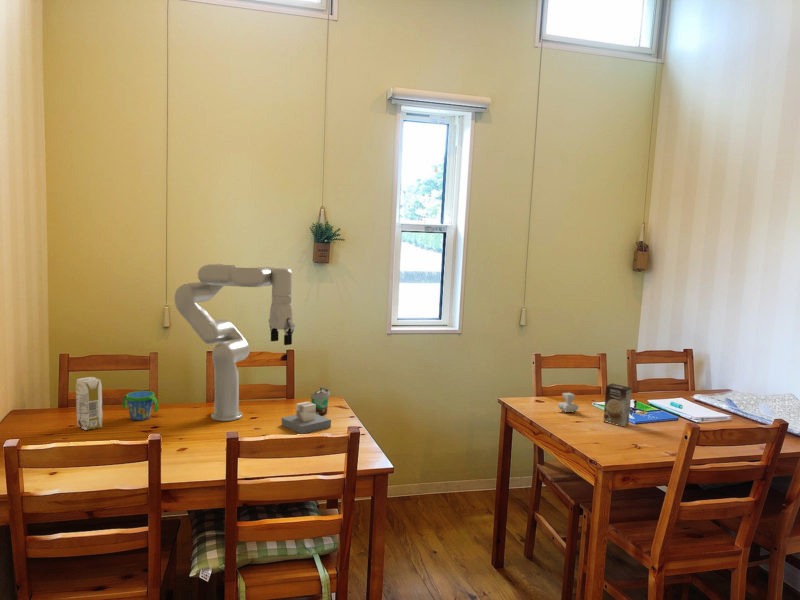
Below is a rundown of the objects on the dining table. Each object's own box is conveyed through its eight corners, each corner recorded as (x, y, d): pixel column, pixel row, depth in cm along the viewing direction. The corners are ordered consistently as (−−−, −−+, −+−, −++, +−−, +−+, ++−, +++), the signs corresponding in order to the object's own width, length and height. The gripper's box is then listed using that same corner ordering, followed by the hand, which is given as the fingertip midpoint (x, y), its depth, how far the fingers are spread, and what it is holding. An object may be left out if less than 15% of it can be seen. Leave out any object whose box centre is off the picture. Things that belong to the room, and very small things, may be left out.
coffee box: (602, 422, 255) (604, 385, 254) (608, 419, 260) (611, 383, 258) (623, 427, 249) (626, 389, 247) (629, 424, 254) (632, 387, 252)
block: (296, 418, 238) (296, 403, 237) (307, 415, 242) (308, 401, 241) (303, 421, 234) (304, 406, 233) (315, 419, 238) (315, 404, 237)
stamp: (563, 414, 265) (564, 396, 264) (555, 410, 271) (556, 392, 270) (580, 413, 267) (581, 395, 266) (572, 409, 274) (573, 391, 273)
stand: (281, 425, 238) (281, 417, 238) (310, 418, 248) (310, 411, 248) (301, 434, 228) (301, 426, 228) (330, 427, 238) (330, 419, 237)
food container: (324, 418, 249) (324, 395, 248) (310, 417, 250) (310, 393, 249) (333, 410, 261) (333, 387, 260) (320, 409, 262) (320, 386, 261)
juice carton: (83, 432, 223) (82, 382, 221) (75, 427, 229) (73, 378, 227) (104, 428, 228) (103, 379, 227) (95, 422, 234) (94, 375, 232)
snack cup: (165, 417, 244) (165, 393, 243) (145, 424, 234) (145, 399, 233) (135, 412, 249) (135, 388, 248) (115, 419, 239) (115, 394, 238)
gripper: (261, 298, 238) (261, 340, 239) (285, 302, 225) (284, 347, 227) (278, 297, 243) (277, 338, 245) (302, 301, 230) (301, 345, 232)
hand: (281, 342), depth 236 cm, fingers open, 9 cm apart
